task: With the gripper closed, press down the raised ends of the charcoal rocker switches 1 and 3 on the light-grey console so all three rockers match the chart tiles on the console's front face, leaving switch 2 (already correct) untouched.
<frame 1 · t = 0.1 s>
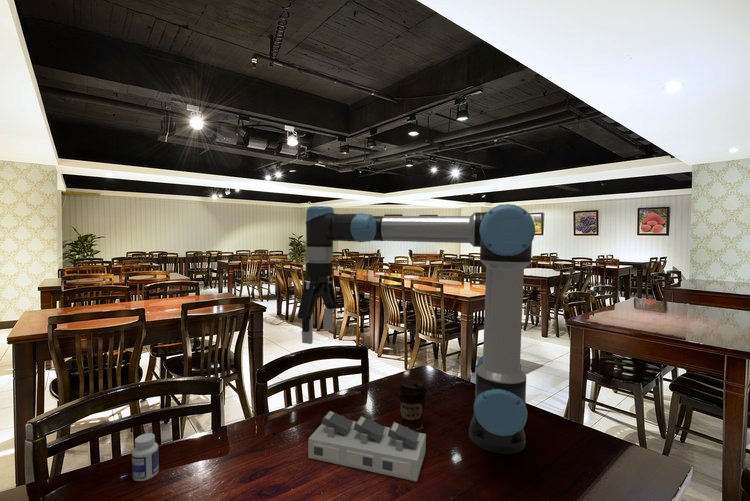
hand: (318, 336, 105), 28 cm above the table, fingers open, 13 cm apart
console: (367, 455, 96), on the table
pill bottle: (145, 475, 87), on the table
switch 1: (403, 435, 93), point 7 cm above the table, hinge at -16.0°
switch 2: (369, 429, 95), point 7 cm above the table, hinge at -16.0°
coffee cup: (412, 426, 111), on the table
switch 3: (336, 423, 98), point 7 cm above the table, hinge at -16.0°
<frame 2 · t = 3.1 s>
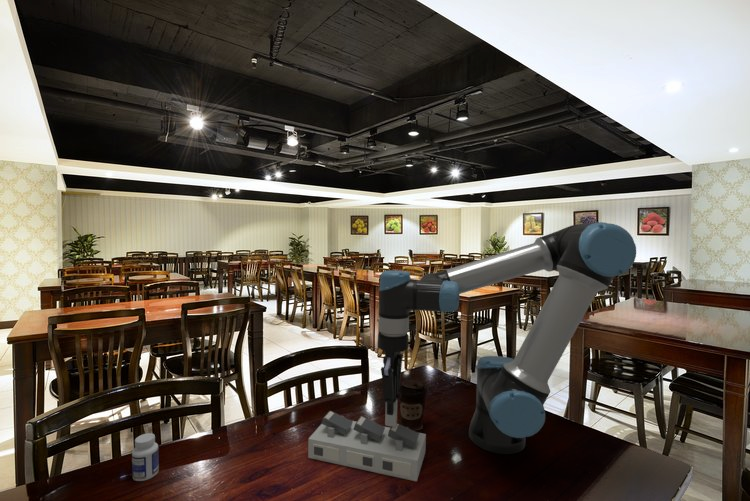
hand: (390, 424, 94), 9 cm above the table, fingers closed
switch 1: (403, 435, 93), point 7 cm above the table, hinge at -15.9°, touching gripper
everything else where it was.
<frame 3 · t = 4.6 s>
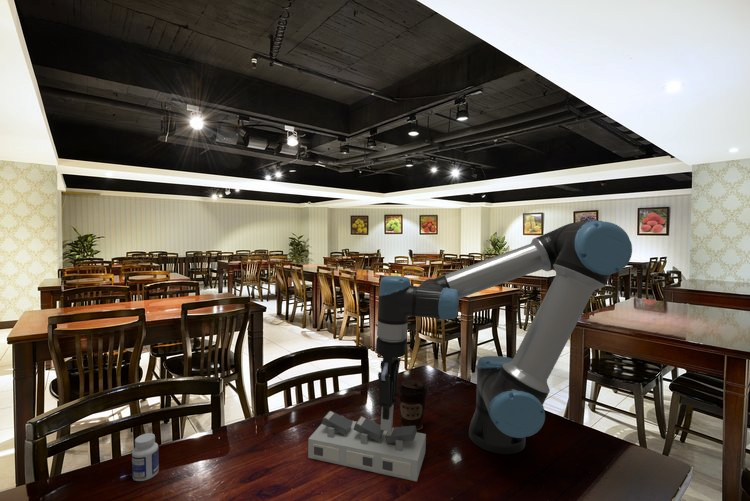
hand: (386, 429, 94), 8 cm above the table, fingers closed
switch 1: (401, 435, 93), point 7 cm above the table, hinge at 15.4°, touching gripper
everything else where it was.
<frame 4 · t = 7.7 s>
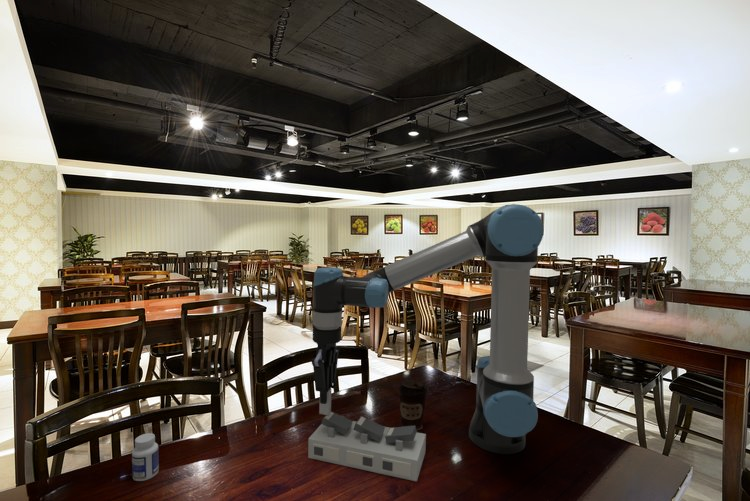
hand: (325, 413, 99), 9 cm above the table, fingers closed
switch 1: (401, 435, 93), point 7 cm above the table, hinge at 15.7°
switch 3: (336, 423, 98), point 7 cm above the table, hinge at -14.6°, touching gripper
everything else where it was.
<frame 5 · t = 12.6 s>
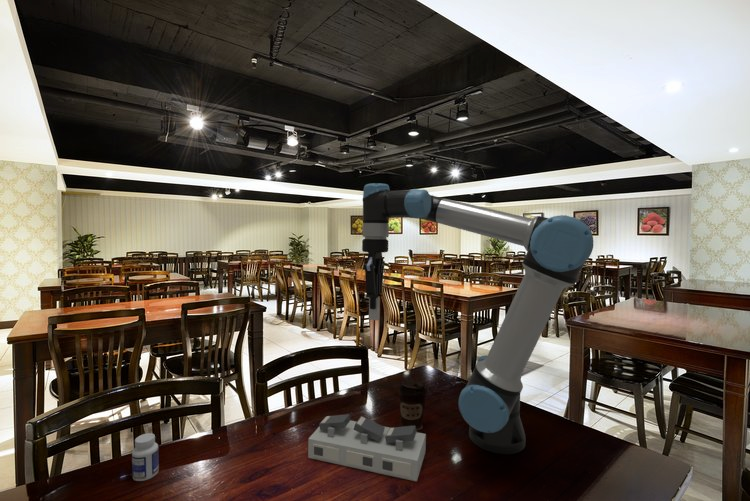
hand: (373, 319, 107), 32 cm above the table, fingers closed
switch 3: (335, 423, 98), point 7 cm above the table, hinge at 14.5°
everything else where it was.
at the end: switch 1 at +16° (first picture: -16°); switch 2 at -16° (first picture: -16°); switch 3 at +14° (first picture: -16°) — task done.
